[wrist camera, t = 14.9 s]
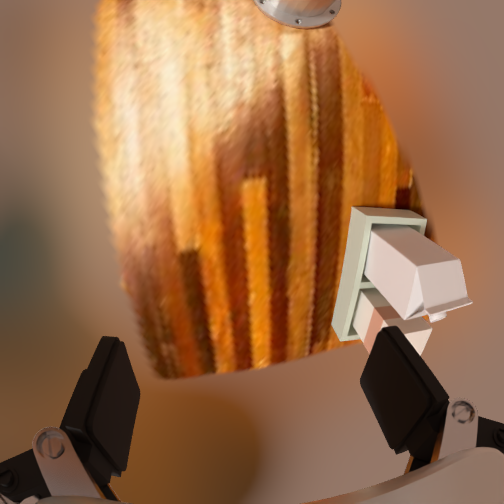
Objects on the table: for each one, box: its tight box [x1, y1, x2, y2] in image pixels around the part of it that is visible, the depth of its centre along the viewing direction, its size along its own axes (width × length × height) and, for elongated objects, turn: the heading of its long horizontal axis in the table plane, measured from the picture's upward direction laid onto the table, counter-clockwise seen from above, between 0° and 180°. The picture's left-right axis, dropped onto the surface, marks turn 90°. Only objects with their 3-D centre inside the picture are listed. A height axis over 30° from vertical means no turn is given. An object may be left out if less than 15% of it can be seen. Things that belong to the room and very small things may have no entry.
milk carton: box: [363, 223, 473, 322], centre depth 33 cm, size 7×7×19 cm
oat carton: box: [351, 287, 432, 355], centre depth 39 cm, size 7×7×14 cm
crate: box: [331, 206, 427, 341], centre depth 42 cm, size 21×11×5 cm, turn 178°
